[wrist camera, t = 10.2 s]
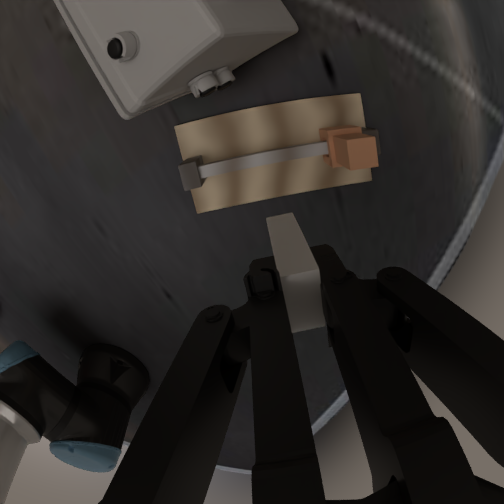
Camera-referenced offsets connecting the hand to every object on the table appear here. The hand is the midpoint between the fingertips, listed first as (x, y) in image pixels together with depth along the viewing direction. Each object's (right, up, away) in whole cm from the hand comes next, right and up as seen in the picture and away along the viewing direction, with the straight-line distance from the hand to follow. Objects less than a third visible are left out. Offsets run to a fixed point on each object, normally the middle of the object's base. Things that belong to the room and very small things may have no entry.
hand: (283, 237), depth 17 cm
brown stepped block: (+9, +12, +18) cm, 24 cm away
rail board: (+1, +12, +21) cm, 25 cm away
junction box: (-11, +30, +13) cm, 34 cm away
